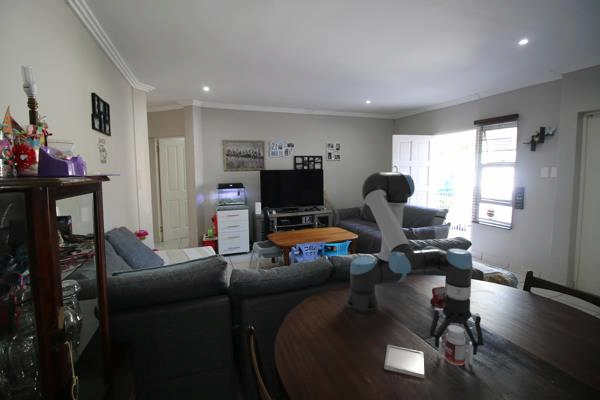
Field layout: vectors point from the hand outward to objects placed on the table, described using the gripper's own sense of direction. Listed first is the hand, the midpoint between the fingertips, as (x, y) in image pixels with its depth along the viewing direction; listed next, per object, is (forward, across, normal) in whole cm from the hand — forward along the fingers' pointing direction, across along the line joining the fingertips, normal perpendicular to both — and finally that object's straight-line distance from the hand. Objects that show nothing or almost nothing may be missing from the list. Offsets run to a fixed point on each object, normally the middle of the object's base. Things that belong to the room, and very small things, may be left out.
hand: (454, 359), depth 96 cm
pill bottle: (+1, 0, 0) cm, 1 cm away
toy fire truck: (+1, 0, +41) cm, 41 cm away
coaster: (0, -16, -7) cm, 17 cm away
